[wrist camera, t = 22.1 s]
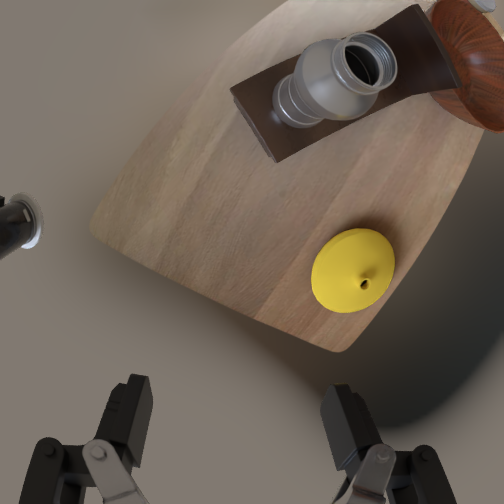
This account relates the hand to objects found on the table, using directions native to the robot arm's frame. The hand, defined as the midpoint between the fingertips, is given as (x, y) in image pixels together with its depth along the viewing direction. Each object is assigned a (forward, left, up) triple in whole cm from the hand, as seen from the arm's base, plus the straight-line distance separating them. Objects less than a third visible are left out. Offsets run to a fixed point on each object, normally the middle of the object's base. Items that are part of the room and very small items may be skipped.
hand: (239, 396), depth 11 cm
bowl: (+26, +42, -34) cm, 60 cm away
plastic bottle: (+1, +17, -26) cm, 31 cm away
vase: (+22, -2, -34) cm, 41 cm away
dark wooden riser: (+5, +22, -34) cm, 41 cm away
